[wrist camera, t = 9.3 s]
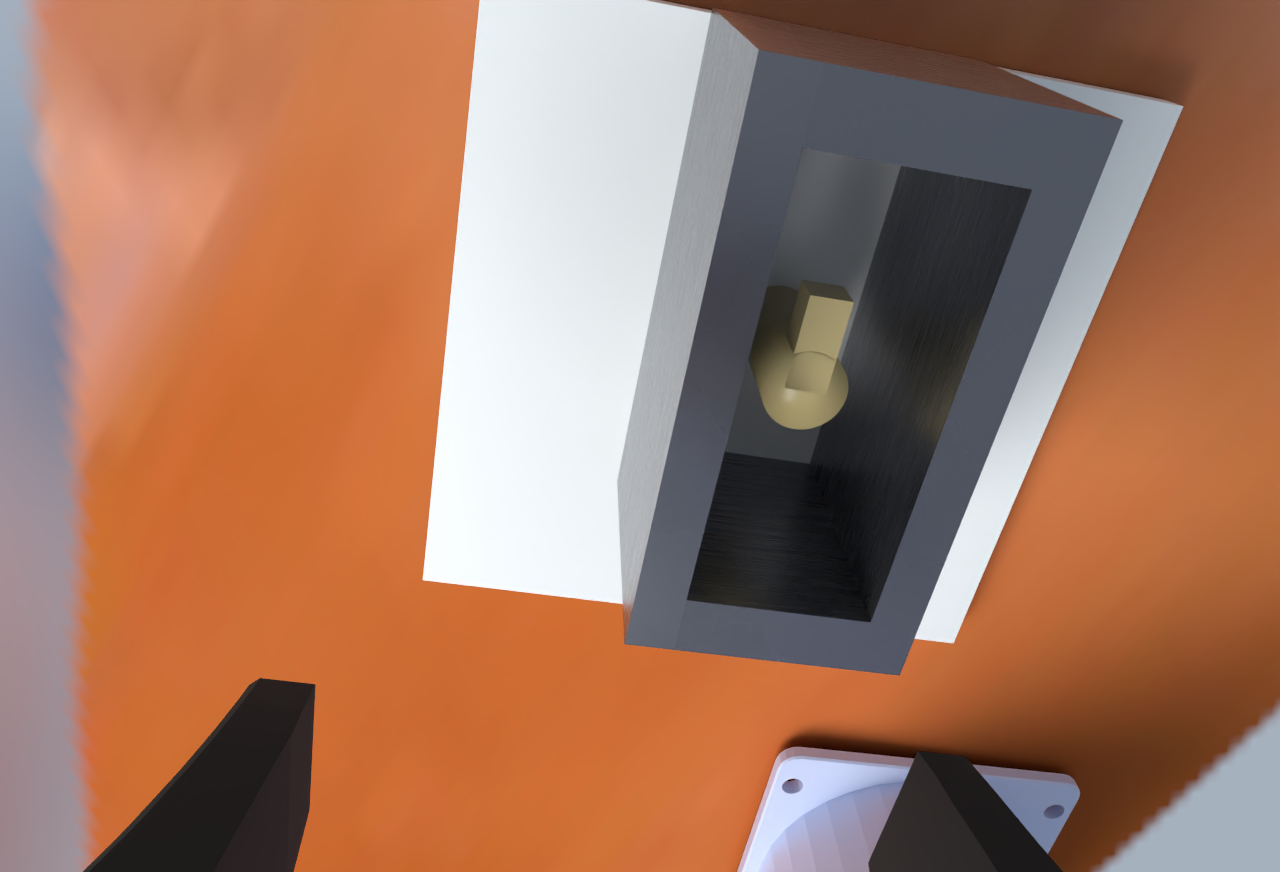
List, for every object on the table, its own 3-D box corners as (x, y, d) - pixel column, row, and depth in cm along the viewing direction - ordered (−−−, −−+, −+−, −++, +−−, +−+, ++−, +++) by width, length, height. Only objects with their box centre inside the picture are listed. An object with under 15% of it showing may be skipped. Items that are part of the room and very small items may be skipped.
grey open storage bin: (834, 510, 21) (899, 675, 16) (617, 480, 20) (624, 643, 16) (981, 60, 16) (1123, 120, 12) (712, 7, 16) (758, 49, 11)
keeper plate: (945, 625, 23) (1001, 741, 20) (426, 563, 22) (398, 677, 18) (1165, 99, 17) (1292, 145, 14) (486, -35, 16) (460, -17, 13)
